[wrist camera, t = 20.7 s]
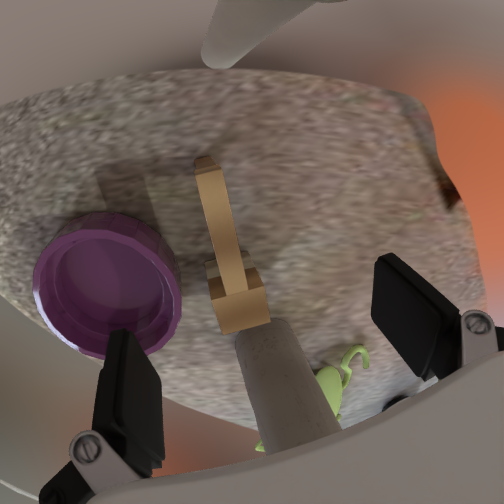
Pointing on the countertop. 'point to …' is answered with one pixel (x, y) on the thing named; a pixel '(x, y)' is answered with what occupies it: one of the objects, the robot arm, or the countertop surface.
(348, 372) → the figurine
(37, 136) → the countertop surface
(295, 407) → the thermos bottle
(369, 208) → the countertop surface
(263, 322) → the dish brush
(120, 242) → the bowl
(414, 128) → the countertop surface
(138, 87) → the countertop surface
